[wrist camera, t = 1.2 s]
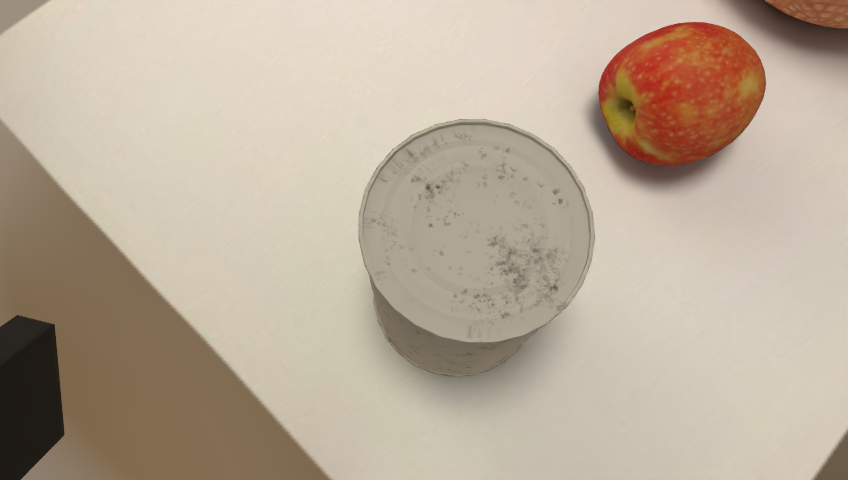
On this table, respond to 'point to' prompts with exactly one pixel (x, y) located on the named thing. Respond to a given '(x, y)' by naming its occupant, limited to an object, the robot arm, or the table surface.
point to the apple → (681, 92)
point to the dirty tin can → (472, 243)
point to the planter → (816, 11)
